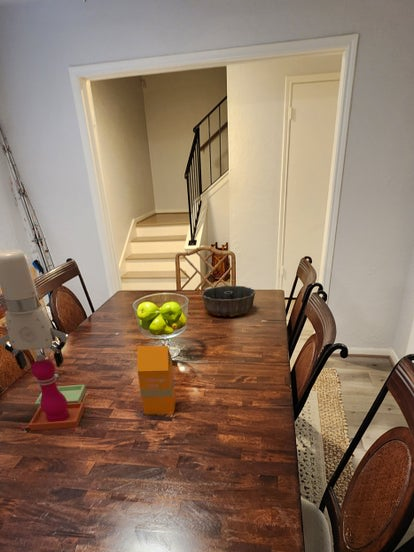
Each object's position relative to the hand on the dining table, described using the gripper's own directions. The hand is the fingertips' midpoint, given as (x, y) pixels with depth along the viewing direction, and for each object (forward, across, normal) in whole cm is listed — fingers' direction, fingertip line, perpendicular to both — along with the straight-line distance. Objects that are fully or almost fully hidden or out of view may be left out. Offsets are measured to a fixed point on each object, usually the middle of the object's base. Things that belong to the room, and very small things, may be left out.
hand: (42, 365), depth 100 cm
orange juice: (+17, +30, +2) cm, 35 cm away
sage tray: (+17, -2, +11) cm, 21 cm away
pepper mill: (+17, 0, 0) cm, 17 cm away
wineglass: (+18, -10, +28) cm, 34 cm away
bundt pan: (+17, +61, +87) cm, 108 cm away
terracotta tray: (+17, 0, 0) cm, 17 cm away
